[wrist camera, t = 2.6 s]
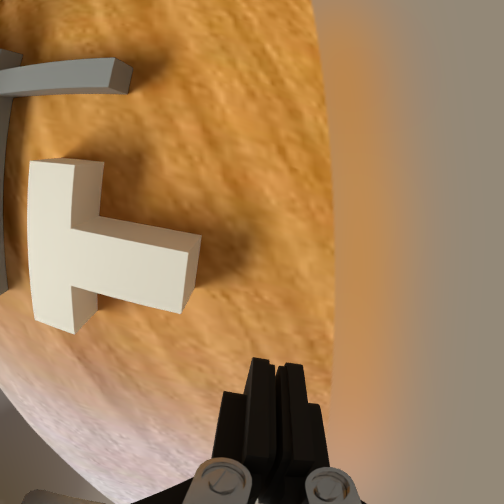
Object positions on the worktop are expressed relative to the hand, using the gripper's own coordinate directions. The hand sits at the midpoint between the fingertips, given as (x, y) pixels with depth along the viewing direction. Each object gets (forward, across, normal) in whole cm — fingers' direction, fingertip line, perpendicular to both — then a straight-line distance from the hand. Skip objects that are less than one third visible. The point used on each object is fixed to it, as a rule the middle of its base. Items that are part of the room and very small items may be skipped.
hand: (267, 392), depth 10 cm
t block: (+13, +11, +1) cm, 17 cm away
